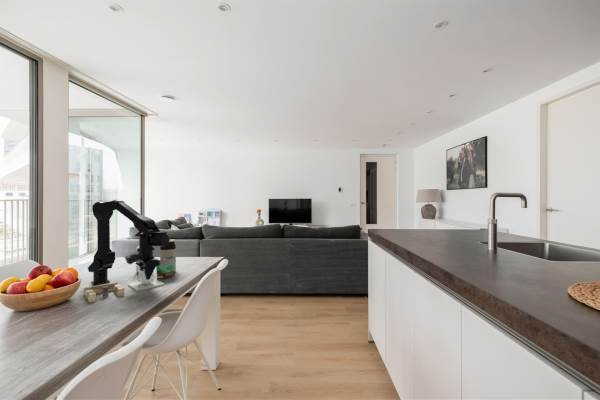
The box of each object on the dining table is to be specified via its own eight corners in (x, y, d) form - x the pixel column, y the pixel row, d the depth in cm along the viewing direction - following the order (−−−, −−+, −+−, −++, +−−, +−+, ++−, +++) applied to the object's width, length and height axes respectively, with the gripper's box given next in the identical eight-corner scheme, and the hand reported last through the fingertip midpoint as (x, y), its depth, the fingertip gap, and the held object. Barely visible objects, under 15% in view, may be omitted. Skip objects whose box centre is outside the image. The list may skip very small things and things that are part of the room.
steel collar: (138, 281, 132) (138, 269, 132) (149, 279, 136) (149, 267, 136) (141, 284, 129) (142, 271, 129) (153, 281, 132) (153, 269, 132)
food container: (165, 280, 140) (165, 261, 140) (155, 280, 141) (155, 260, 141) (180, 274, 152) (181, 256, 152) (170, 273, 153) (171, 255, 153)
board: (128, 285, 132) (128, 283, 132) (155, 280, 141) (155, 278, 141) (136, 291, 124) (136, 289, 124) (164, 285, 132) (164, 283, 132)
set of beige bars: (83, 294, 119) (83, 285, 119) (116, 288, 128) (116, 279, 128) (89, 302, 110) (89, 292, 110) (124, 295, 119) (124, 285, 119)
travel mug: (160, 274, 151) (160, 241, 151) (160, 271, 158) (160, 239, 158) (176, 272, 155) (176, 240, 155) (175, 269, 162) (175, 238, 162)
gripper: (121, 245, 133) (120, 278, 133) (133, 250, 120) (133, 286, 120) (146, 243, 141) (146, 273, 141) (160, 247, 128) (160, 281, 128)
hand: (146, 278), depth 132 cm, fingers closed on steel collar, 5 cm apart
